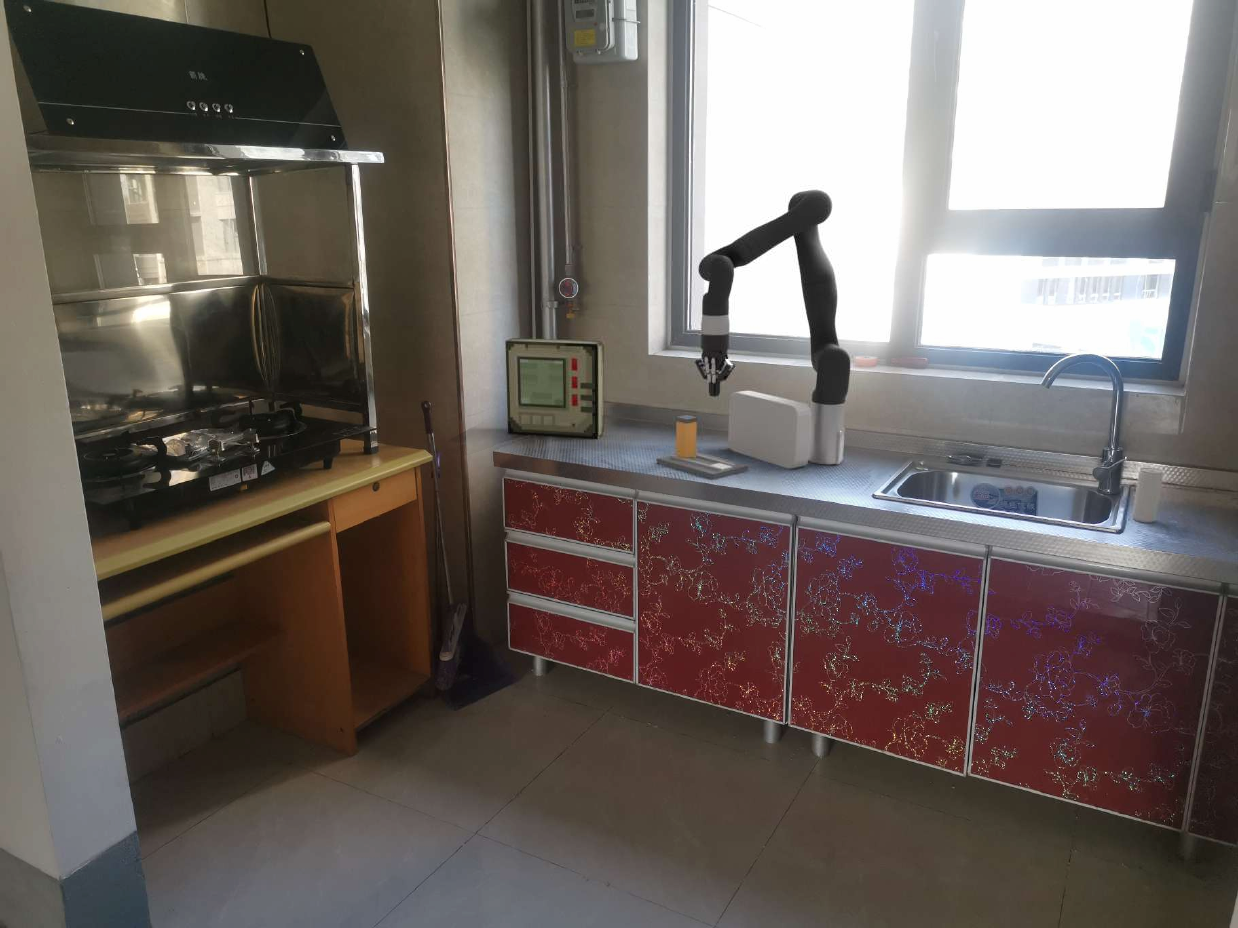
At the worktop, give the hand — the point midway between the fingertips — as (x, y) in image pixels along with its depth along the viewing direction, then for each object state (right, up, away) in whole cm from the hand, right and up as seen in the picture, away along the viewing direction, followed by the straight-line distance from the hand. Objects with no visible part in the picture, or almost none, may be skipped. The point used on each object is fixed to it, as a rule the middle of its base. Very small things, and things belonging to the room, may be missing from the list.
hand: (714, 396), depth 247 cm
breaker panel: (-3, -19, +8) cm, 21 cm away
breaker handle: (-7, -16, +12) cm, 21 cm away
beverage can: (+96, -32, -36) cm, 107 cm away
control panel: (-46, -9, +47) cm, 66 cm away
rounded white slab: (+17, -17, +18) cm, 30 cm away
